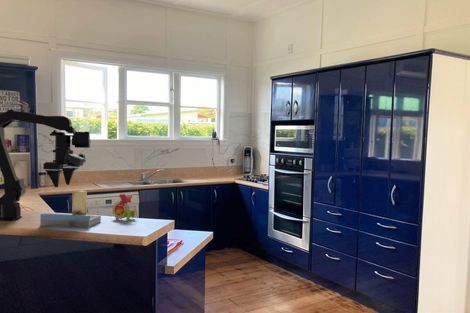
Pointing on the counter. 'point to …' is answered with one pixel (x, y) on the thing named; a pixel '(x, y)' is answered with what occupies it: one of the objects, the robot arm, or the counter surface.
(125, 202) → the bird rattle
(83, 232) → the counter surface
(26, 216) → the counter surface
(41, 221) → the jig
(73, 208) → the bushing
